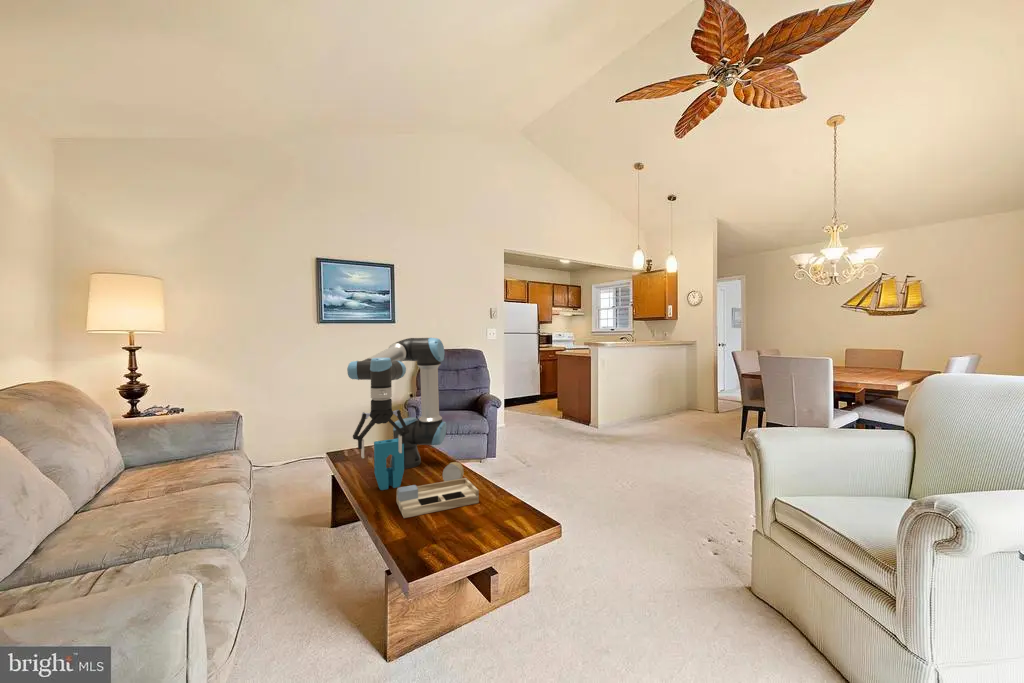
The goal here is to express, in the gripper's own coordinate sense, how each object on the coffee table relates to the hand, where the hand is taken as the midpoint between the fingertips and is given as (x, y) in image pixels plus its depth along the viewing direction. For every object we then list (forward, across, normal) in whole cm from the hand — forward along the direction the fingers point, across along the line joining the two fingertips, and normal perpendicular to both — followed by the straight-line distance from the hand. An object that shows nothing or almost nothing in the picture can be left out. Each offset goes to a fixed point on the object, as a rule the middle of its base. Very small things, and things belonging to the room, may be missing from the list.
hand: (381, 454), depth 149 cm
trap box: (+21, +20, -3) cm, 30 cm away
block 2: (+21, +6, +23) cm, 32 cm away
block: (+18, +10, 0) cm, 20 cm away
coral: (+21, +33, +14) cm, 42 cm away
